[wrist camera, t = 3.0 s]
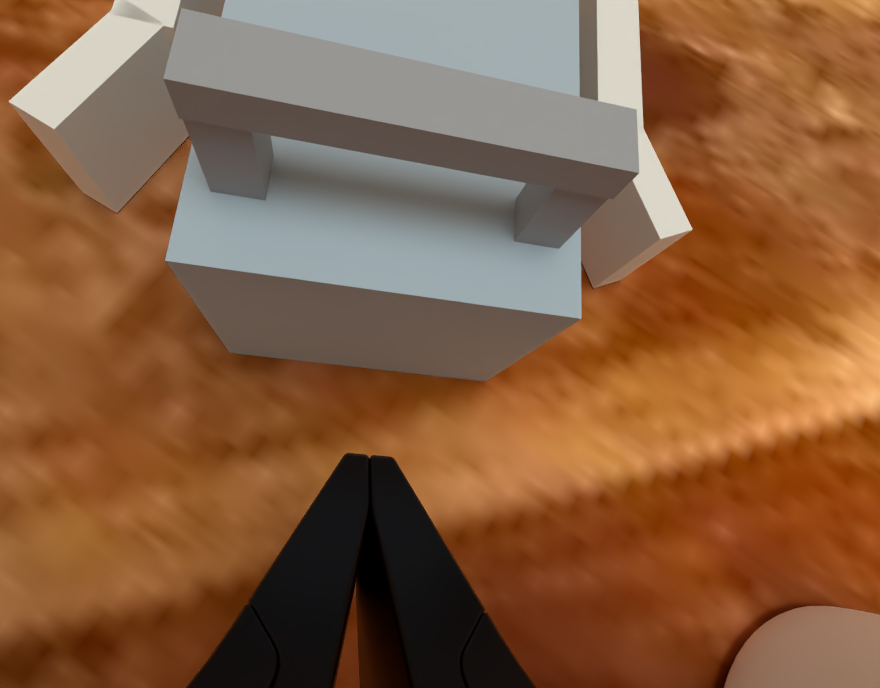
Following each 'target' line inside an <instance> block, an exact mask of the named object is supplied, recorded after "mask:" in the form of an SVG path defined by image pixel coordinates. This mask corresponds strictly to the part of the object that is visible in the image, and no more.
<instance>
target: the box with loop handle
mask: <svg viewBox="0 0 880 688" xmlns="http://www.w3.org/2000/svg"><path fill="white" fill-rule="evenodd" d="M163 79H164V82H165V84H166V87H167V90H168V92H169V95H170V97H171V100H172V102H173V105H174V107H175V110H176V112H177V115H178V118H180V119H183V121H184V124H185V126H186V129H187V132H188V134H189V137H190V140H191V142H192V146H191V150H190V155H189V159H188V163H187V168H186V172H185V176H184V181H183V185H182V189H181V194H180V198H179V202H178V207H177V211H176V215H175V220H174V224H173V228H172V233H171V237H170V241H169V246H168V250H167V254H166V259H165V261H166V263H167V264H168V266H169V267H170V269H171V270H172V271H173V273H174V274H175V276H176V277H177V279H178V280H179V281H180V283H181V284H182V286H183V287H184V289H185V290H186V291H187V293H188V294H189V296H190V297H191V299H192V300H193V301H194V303H195V304H196V306H197V307H198V309H199V310H200V311H201V313H202V314H203V316H204V317H205V318H206V320H207V321H208V323H209V324H210V326H211V327H212V328H213V330H214V331H215V333H216V334H217V336H218V337H219V338H220V340H221V341H222V343H223V344H224V346H225V347H226V348H227V350H228V351H229V353H235V354H244V355H253V356H262V357H271V358H280V359H289V360H298V361H306V362H315V363H324V364H333V365H342V366H351V367H360V368H369V369H378V370H387V371H395V372H404V373H413V374H422V375H431V376H440V377H449V378H458V379H467V380H476V381H484V382H486V381H487V380H489V379H490V378H492V377H493V376H495V375H496V374H498V373H499V372H501V371H503V370H504V369H506V368H507V367H509V366H510V365H512V364H513V363H515V362H516V361H518V360H519V359H521V358H522V357H524V356H525V355H527V354H528V353H530V352H532V351H533V350H535V349H536V348H538V347H539V346H541V345H542V344H544V343H545V342H547V341H548V340H550V339H551V338H553V337H554V336H556V335H558V334H559V333H561V332H562V331H564V330H565V329H567V328H568V327H570V326H571V325H573V324H574V323H576V322H577V321H579V320H580V319H581V226H582V225H583V224H584V223H585V222H586V221H587V220H588V219H589V218H590V217H591V216H592V215H593V214H594V213H595V212H596V211H597V210H598V209H599V208H600V207H601V206H602V205H603V204H604V203H605V202H606V201H607V200H608V199H614V198H615V197H616V196H617V195H618V194H619V193H620V192H621V191H622V190H623V189H624V188H625V187H626V186H627V185H628V184H629V183H630V182H631V181H632V180H633V179H634V178H635V177H636V176H637V175H638V174H639V153H638V130H637V109H632V108H628V107H623V106H619V105H614V104H610V103H605V102H601V101H596V100H592V99H587V98H583V97H580V72H579V0H225V3H224V7H223V12H222V16H221V17H219V16H214V15H210V14H205V13H201V12H196V11H192V10H187V9H183V8H181V12H180V16H179V20H178V23H177V27H176V31H175V35H174V39H173V43H172V47H171V50H170V54H169V58H168V62H167V66H166V70H165V74H164V77H163Z"/></svg>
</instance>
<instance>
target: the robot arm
mask: <svg viewBox="0 0 880 688" xmlns="http://www.w3.org/2000/svg"><path fill="white" fill-rule="evenodd" d="M355 583H356V610H357V632H358V654H359V676H360V688H536V686H535V685H534V683H533V682H532V681H531V679H530V678H529V677H528V675H527V674H526V672H525V671H524V670H523V668H522V667H521V665H520V664H519V663H518V661H517V659H516V658H515V656H514V655H513V653H512V652H511V650H510V649H509V647H508V645H507V644H506V642H505V641H504V639H503V638H502V636H501V634H500V633H499V631H498V630H497V628H496V626H495V625H494V623H493V621H492V620H491V618H490V616H489V614H488V613H486V612H485V613H484V611H485V609H484V607H483V605H482V603H481V602H480V600H479V598H478V597H477V595H476V593H475V592H474V590H473V588H472V587H471V585H470V583H469V582H468V580H467V578H466V577H465V575H464V573H463V572H462V570H461V569H460V567H459V565H458V564H457V562H456V560H455V559H454V557H453V555H452V554H451V552H450V550H449V549H448V547H447V545H446V544H445V542H444V540H443V539H442V537H441V535H440V534H439V532H438V530H437V529H436V527H435V526H434V524H433V522H432V521H431V519H430V517H429V516H428V514H427V512H426V511H425V509H424V507H423V506H422V504H421V502H420V501H419V499H418V497H417V496H416V494H415V492H414V491H413V489H412V487H411V486H410V484H409V482H408V481H407V479H406V478H405V476H404V474H403V473H402V471H401V469H400V468H399V466H398V464H397V463H396V461H395V459H394V458H392V457H387V456H376V455H373V456H371V457H370V458H369V457H368V456H367V455H364V454H353V453H347V454H345V455H344V456H343V458H342V459H341V461H340V462H339V464H338V465H337V467H336V468H335V470H334V471H333V473H332V474H331V476H330V477H329V479H328V480H327V482H326V483H325V485H324V486H323V488H322V489H321V491H320V493H319V494H318V496H317V497H316V499H315V500H314V502H313V503H312V505H311V506H310V508H309V509H308V511H307V512H306V514H305V515H304V517H303V518H302V520H301V521H300V523H299V524H298V526H297V528H296V529H295V531H294V532H293V534H292V535H291V537H290V538H289V540H288V541H287V543H286V544H285V546H284V547H283V549H282V550H281V552H280V553H279V555H278V556H277V558H276V559H275V561H274V562H273V564H272V566H271V567H270V569H269V570H268V572H267V573H266V575H265V576H264V578H263V579H262V581H261V582H260V584H259V585H258V587H257V588H256V590H255V591H254V593H253V594H252V596H251V597H250V599H249V601H248V604H247V605H245V606H244V608H243V609H242V611H241V612H240V614H239V615H238V617H237V618H236V620H235V621H234V623H233V624H232V626H231V627H230V629H229V630H228V632H227V633H226V634H225V636H224V637H223V639H222V640H221V642H220V643H219V644H218V646H217V647H216V649H215V650H214V651H213V653H212V654H211V656H210V657H209V659H208V660H207V661H206V663H205V664H204V665H203V666H202V668H201V669H200V670H199V671H198V673H197V674H196V675H195V676H194V678H193V679H192V680H191V682H190V683H189V684H188V685H187V687H186V688H335V683H336V678H337V673H338V668H339V663H340V658H341V653H342V648H343V643H344V638H345V633H346V628H347V623H348V618H349V613H350V608H351V603H352V598H353V593H354V588H355Z"/></svg>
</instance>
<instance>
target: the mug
mask: <svg viewBox="0 0 880 688" xmlns="http://www.w3.org/2000/svg"><path fill="white" fill-rule="evenodd" d="M724 688H880V615H879V614H874V613H869V612H864V611H859V610H853V609H847V608H841V607H834V606H805V607H800V608H795V609H792V610H789V611H787V612H784V613H782V614H779V615H777V616H775V617H774V618H772V619H770V620H769V621H767V622H765V623H764V624H763V625H762V626H761V627H759V628H758V629H757V630H756V631H755V632H754V633H753V634H752V635H751V636H750V638H749V639H748V640H747V641H746V642H745V644H744V645H743V647H742V648H741V650H740V651H739V653H738V654H737V656H736V658H735V660H734V662H733V664H732V666H731V668H730V671H729V673H728V676H727V679H726V682H725V685H724Z"/></svg>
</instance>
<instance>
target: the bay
mask: <svg viewBox="0 0 880 688" xmlns="http://www.w3.org/2000/svg"><path fill="white" fill-rule="evenodd" d="M224 3H225V0H115V1H114V4H113V7H112V10H111V11H110V12H109V13H108V14H106V15H105V16H104V17H103V18H102V19H101V20H100V21H99V22H97V23H96V24H95V25H94V26H93V27H92V28H91V29H90V30H88V31H87V32H86V33H85V34H84V35H83V36H82V37H81V38H79V39H78V40H77V41H76V42H75V43H74V44H73V45H72V46H70V47H69V48H68V49H67V50H66V51H65V52H64V53H62V54H61V55H60V56H59V57H58V58H57V59H56V60H55V61H53V62H52V63H51V64H50V65H49V66H48V67H47V68H46V69H44V70H43V71H42V72H41V73H40V74H39V75H38V76H37V77H35V78H34V79H33V80H32V81H31V82H30V83H29V84H28V85H26V86H25V87H24V88H23V89H22V90H21V91H20V92H19V93H17V94H16V95H15V96H14V97H13V98H12V99H11V100H9V101H8V102H9V103H10V104H11V105H12V107H13V108H14V109H15V110H16V111H17V113H18V114H19V115H20V116H21V118H22V119H23V120H24V121H25V122H26V124H27V125H28V126H29V127H30V129H31V130H32V131H33V132H34V134H35V135H36V136H37V137H38V138H39V140H40V141H41V142H42V143H43V145H44V146H45V147H46V148H47V149H48V151H49V152H50V153H51V154H52V156H53V157H54V158H55V159H56V161H57V162H58V163H59V164H60V165H61V167H62V168H63V169H64V170H65V172H66V173H67V174H68V175H69V177H70V178H71V179H72V180H73V181H74V183H75V184H76V185H77V186H78V188H79V189H80V190H81V191H82V192H83V193H84V194H86V195H88V196H89V197H91V198H93V199H94V200H96V201H98V202H99V203H101V204H103V205H104V206H106V207H108V208H109V209H111V210H113V211H114V212H116V213H118V212H119V211H120V210H121V209H122V208H123V206H124V205H125V204H126V203H127V202H128V201H129V200H130V199H131V198H132V197H133V196H134V195H135V194H136V192H137V191H138V190H139V189H140V188H141V187H142V186H143V185H144V184H145V183H146V182H147V181H148V179H149V178H150V177H151V176H152V175H153V174H154V173H155V172H156V171H157V170H158V169H159V168H160V167H161V165H162V164H163V163H164V162H165V161H166V160H167V159H168V158H169V157H170V156H171V155H172V154H173V153H174V151H175V150H176V149H177V148H178V147H179V146H180V145H181V144H182V143H183V142H184V141H185V140H186V139H187V137H188V136H189V134H188V132H187V129H186V126H185V124H184V121H183V119H180V118H178V115H177V112H176V110H175V107H174V105H173V102H172V100H171V97H170V95H169V92H168V90H167V87H166V84H165V82H164V79H163V77H164V74H165V70H166V66H167V62H168V58H169V54H170V50H171V47H172V43H173V39H174V35H175V31H176V27H177V23H178V20H179V16H180V12H181V8H183V9H187V10H192V11H196V12H201V13H205V14H210V15H214V16H219V17H221V16H222V12H223V7H224ZM579 72H580V97H583V98H587V99H592V100H596V101H601V102H605V103H610V104H614V105H619V106H623V107H628V108H632V109H637V130H638V153H639V174H638V175H637V176H636V177H635V178H634V179H633V180H632V181H631V182H630V183H629V184H628V185H627V186H626V187H625V188H624V189H623V190H622V191H621V192H620V193H619V194H618V195H617V196H616V197H615V198H614V199H608V200H607V201H606V202H605V203H604V204H603V205H602V206H601V207H600V208H599V209H598V210H597V211H596V212H595V213H594V214H593V215H592V216H591V217H590V218H589V219H588V220H587V221H586V222H585V223H584V224H583V225H582V226H581V262H582V264H583V266H584V269H585V271H586V273H587V275H588V278H589V280H590V282H591V284H592V287H593V288H597V287H600V286H603V285H606V284H609V283H613V282H616V281H619V280H621V279H623V278H624V277H626V276H627V275H628V274H630V273H631V272H633V271H634V270H636V269H637V268H638V267H640V266H641V265H643V264H644V263H646V262H647V261H648V260H650V259H651V258H653V257H654V256H656V255H657V254H658V253H660V252H661V251H663V250H664V249H666V248H667V247H669V246H670V245H671V244H673V243H674V242H676V241H677V240H679V239H680V238H681V237H683V236H684V235H686V234H687V233H689V232H690V231H691V230H693V229H692V227H691V225H690V223H689V221H688V219H687V217H686V215H685V213H684V211H683V209H682V207H681V205H680V203H679V200H678V198H677V196H676V194H675V192H674V190H673V188H672V186H671V184H670V182H669V180H668V178H667V176H666V174H665V172H664V170H663V168H662V166H661V164H660V161H659V159H658V157H657V155H656V153H655V151H654V149H653V147H652V145H651V143H650V141H649V139H648V137H647V135H646V133H645V131H644V129H643V109H642V85H641V61H640V37H639V13H638V0H579Z"/></svg>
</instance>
